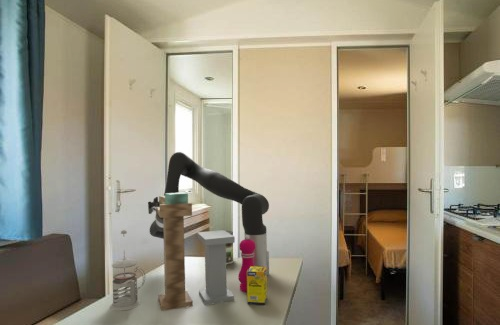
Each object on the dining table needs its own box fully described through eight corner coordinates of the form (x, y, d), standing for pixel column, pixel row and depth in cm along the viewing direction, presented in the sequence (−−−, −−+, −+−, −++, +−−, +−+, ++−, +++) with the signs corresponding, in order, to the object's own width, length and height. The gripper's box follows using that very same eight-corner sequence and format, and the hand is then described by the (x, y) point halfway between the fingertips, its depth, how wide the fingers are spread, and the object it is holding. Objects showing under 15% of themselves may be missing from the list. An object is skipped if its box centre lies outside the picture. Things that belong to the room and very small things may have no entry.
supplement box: (265, 305, 114) (264, 271, 114) (247, 304, 115) (246, 271, 115) (267, 298, 119) (267, 266, 119) (250, 297, 121) (249, 265, 121)
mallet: (170, 203, 133) (170, 190, 133) (188, 208, 115) (187, 193, 115) (155, 204, 130) (154, 190, 130) (170, 210, 112) (169, 194, 112)
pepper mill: (260, 286, 131) (259, 233, 131) (254, 293, 124) (253, 237, 124) (242, 285, 133) (241, 232, 133) (235, 291, 126) (234, 236, 127)
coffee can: (234, 258, 171) (233, 230, 171) (232, 264, 160) (232, 234, 161) (213, 259, 171) (212, 230, 171) (210, 265, 161) (209, 234, 161)
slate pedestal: (225, 289, 129) (223, 230, 129) (236, 302, 117) (234, 236, 117) (198, 293, 125) (197, 232, 125) (206, 307, 113) (205, 239, 113)
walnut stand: (187, 294, 124) (185, 199, 125) (194, 308, 112) (191, 203, 112) (158, 299, 121) (156, 201, 121) (162, 313, 109) (159, 205, 109)
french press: (116, 298, 122) (115, 227, 122) (149, 298, 122) (148, 227, 122) (104, 310, 112) (102, 233, 113) (139, 310, 112) (138, 232, 112)
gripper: (146, 208, 140) (148, 190, 127) (182, 205, 145) (187, 188, 132) (147, 225, 137) (149, 209, 124) (183, 222, 142) (189, 206, 128)
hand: (169, 198), depth 128 cm, fingers open, 8 cm apart
